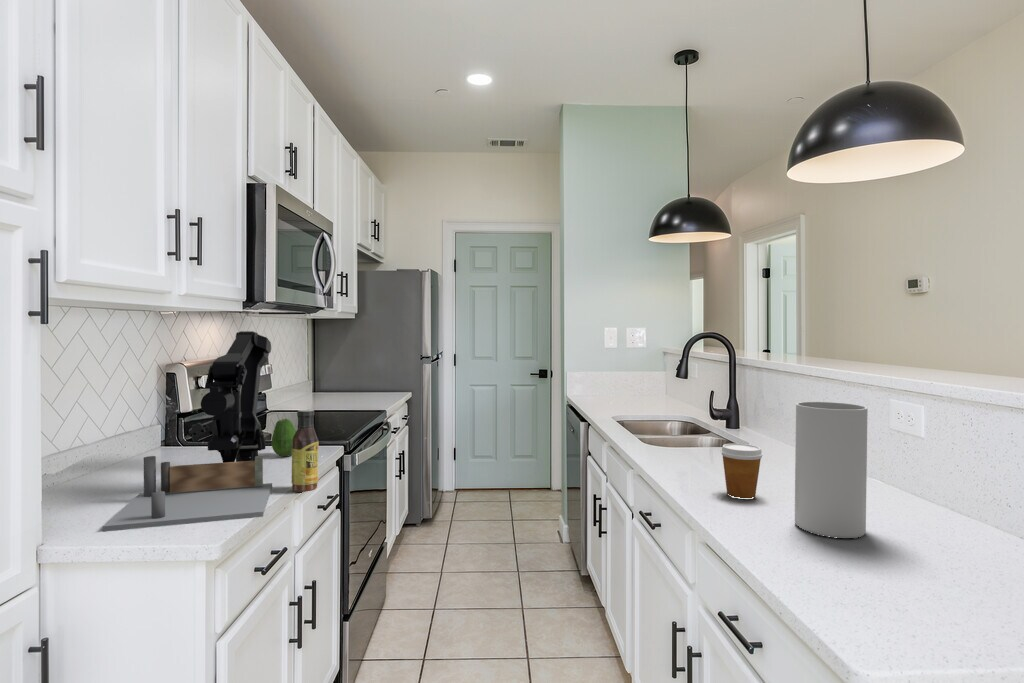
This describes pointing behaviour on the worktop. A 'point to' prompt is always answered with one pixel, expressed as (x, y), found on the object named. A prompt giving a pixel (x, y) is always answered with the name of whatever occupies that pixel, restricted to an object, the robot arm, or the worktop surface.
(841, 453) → the cylinder vase
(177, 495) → the gate frame
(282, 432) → the avocado
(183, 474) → the gate
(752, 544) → the worktop surface
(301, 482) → the sauce bottle
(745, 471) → the disposable coffee cup
